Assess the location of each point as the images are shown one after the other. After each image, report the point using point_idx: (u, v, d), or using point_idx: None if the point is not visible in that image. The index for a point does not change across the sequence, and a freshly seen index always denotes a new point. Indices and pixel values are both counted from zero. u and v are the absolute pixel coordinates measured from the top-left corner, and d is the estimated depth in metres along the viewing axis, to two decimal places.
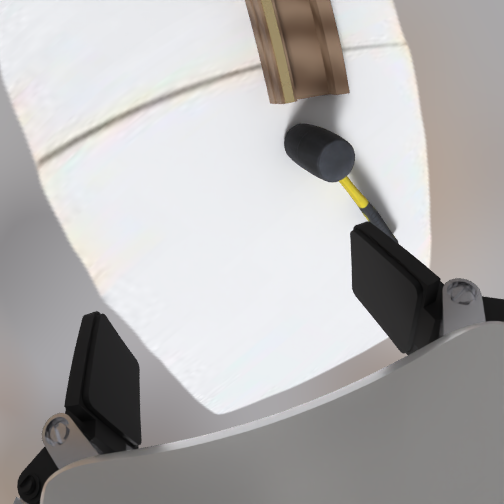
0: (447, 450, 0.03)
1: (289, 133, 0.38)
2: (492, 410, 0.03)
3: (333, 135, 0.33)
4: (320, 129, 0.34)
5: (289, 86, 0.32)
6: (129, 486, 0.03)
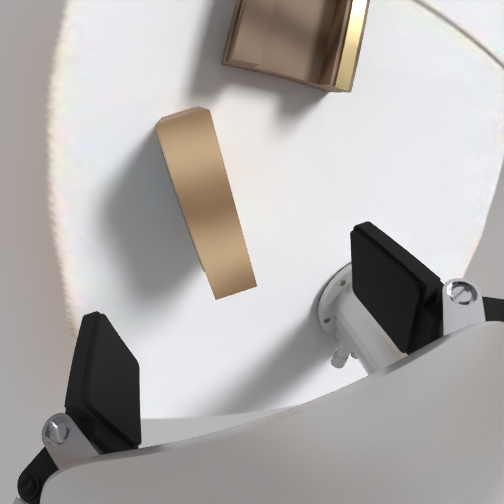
0: (447, 450, 0.03)
1: None
2: (492, 410, 0.03)
3: None
4: None
5: None
6: (129, 486, 0.03)
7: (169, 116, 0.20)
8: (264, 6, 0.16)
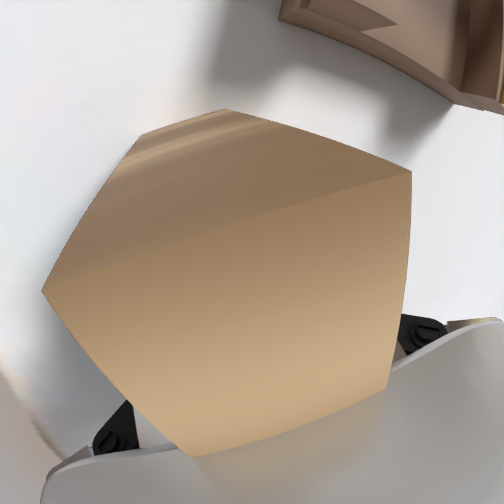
0: (447, 450, 0.03)
1: None
2: (492, 410, 0.03)
3: None
4: None
5: None
6: (129, 486, 0.03)
7: (156, 137, 0.07)
8: None
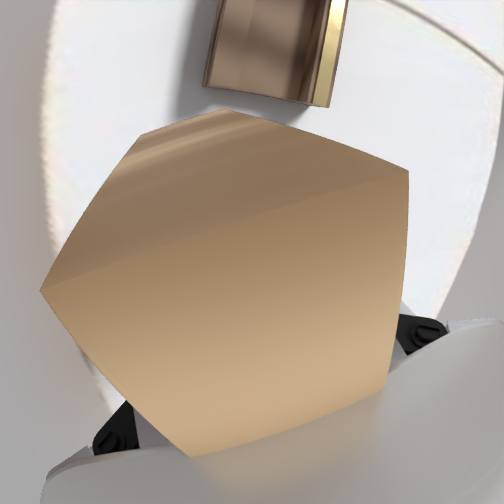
0: (447, 450, 0.03)
1: None
2: (492, 410, 0.03)
3: None
4: None
5: None
6: (129, 486, 0.03)
7: (155, 137, 0.07)
8: (238, 28, 0.17)
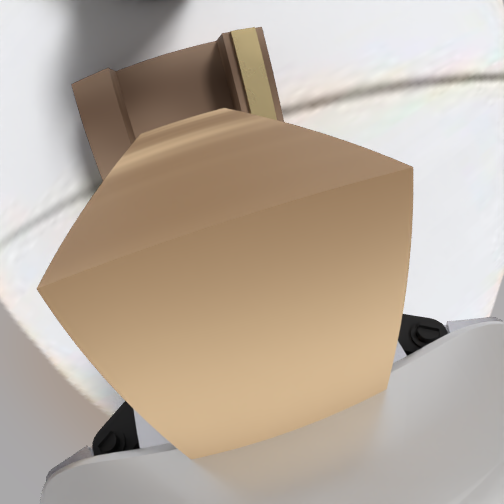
0: (447, 450, 0.03)
1: None
2: (492, 410, 0.03)
3: None
4: None
5: (245, 66, 0.13)
6: (129, 486, 0.03)
7: (155, 135, 0.07)
8: None
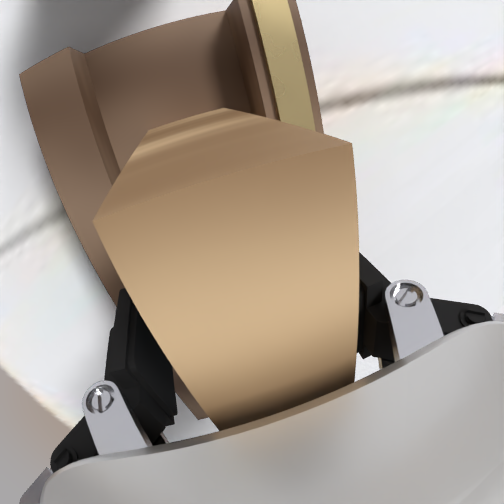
0: (447, 450, 0.03)
1: None
2: (492, 410, 0.03)
3: None
4: None
5: (271, 43, 0.08)
6: (129, 486, 0.03)
7: (163, 131, 0.08)
8: None
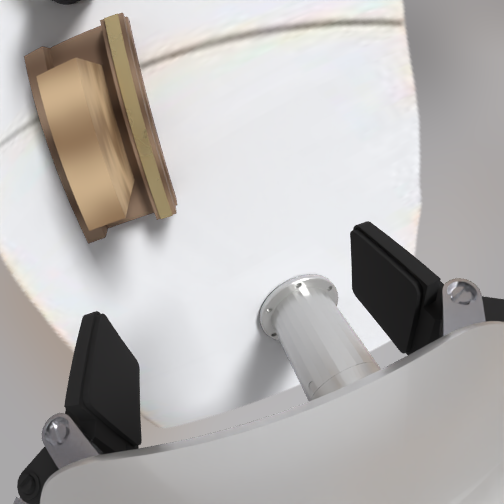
0: (447, 450, 0.03)
1: None
2: (492, 410, 0.03)
3: None
4: None
5: (111, 36, 0.18)
6: (129, 486, 0.03)
7: None
8: None
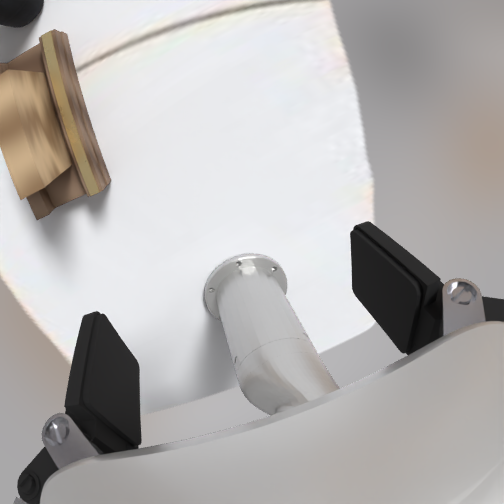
0: (447, 450, 0.03)
1: (37, 10, 0.19)
2: (492, 410, 0.03)
3: None
4: (4, 19, 0.15)
5: (46, 49, 0.20)
6: (129, 486, 0.03)
7: None
8: None
